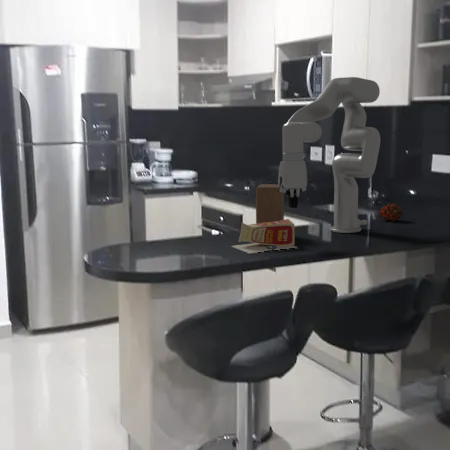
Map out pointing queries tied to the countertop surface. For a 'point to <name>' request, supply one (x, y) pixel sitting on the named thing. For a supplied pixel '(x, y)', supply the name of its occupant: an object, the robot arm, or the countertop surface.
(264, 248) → the mat
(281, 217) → the wooden block
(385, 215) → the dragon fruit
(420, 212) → the countertop surface
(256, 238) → the milk carton
